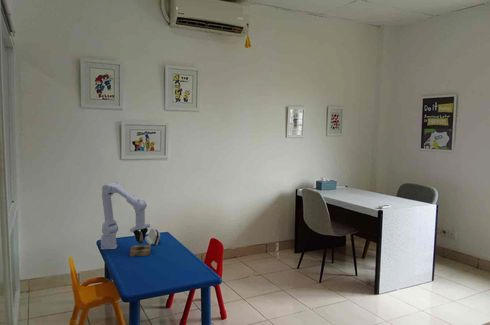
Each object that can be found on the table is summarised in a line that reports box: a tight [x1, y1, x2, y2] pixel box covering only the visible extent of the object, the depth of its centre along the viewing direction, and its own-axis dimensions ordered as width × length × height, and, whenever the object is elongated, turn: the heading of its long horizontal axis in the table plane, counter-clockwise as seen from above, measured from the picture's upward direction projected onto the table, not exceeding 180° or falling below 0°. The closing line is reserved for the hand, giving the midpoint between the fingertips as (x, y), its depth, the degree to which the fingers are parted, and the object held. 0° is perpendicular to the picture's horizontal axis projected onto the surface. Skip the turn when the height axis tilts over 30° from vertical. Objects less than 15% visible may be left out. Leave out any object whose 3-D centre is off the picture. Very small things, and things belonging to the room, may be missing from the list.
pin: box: [137, 230, 144, 245], centre depth 244 cm, size 4×4×7 cm
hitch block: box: [129, 244, 152, 257], centre depth 245 cm, size 12×12×3 cm
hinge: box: [144, 228, 161, 246], centre depth 268 cm, size 17×5×10 cm, turn 28°
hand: (140, 240), depth 244 cm, fingers closed on pin, 4 cm apart
